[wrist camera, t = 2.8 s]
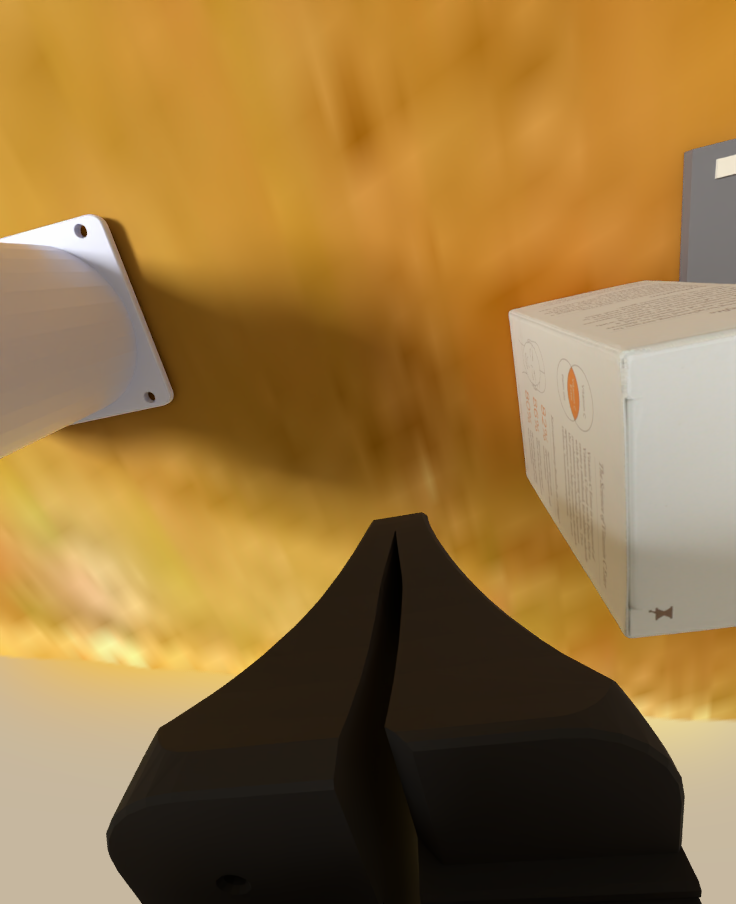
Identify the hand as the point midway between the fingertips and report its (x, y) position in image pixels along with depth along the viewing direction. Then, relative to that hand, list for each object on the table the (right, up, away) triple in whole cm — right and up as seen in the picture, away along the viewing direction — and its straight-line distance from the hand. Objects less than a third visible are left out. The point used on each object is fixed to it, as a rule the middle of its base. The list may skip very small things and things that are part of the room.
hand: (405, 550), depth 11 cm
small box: (+8, +5, +9) cm, 13 cm away
